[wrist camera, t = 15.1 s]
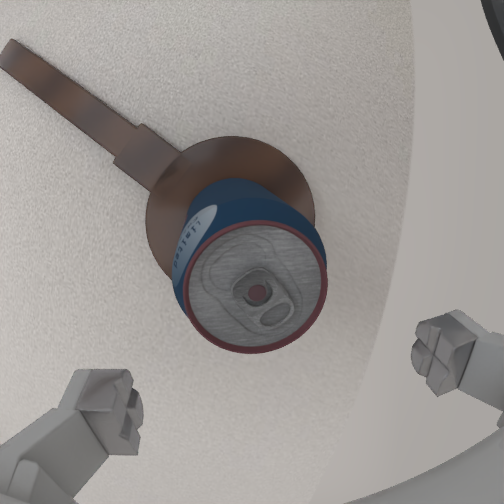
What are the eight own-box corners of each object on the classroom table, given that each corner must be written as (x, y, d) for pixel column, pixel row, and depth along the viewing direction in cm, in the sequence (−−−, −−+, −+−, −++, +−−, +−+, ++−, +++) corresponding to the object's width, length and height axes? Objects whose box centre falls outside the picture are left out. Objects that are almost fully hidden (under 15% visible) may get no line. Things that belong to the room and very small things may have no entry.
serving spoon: (342, 210, 25) (346, 212, 24) (242, 324, 27) (243, 328, 26) (51, -6, 15) (48, -9, 14) (-29, 113, 17) (-33, 113, 16)
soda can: (167, 215, 22) (130, 281, 11) (243, 157, 22) (281, 165, 10) (224, 283, 25) (239, 388, 13) (295, 231, 24) (367, 302, 13)
